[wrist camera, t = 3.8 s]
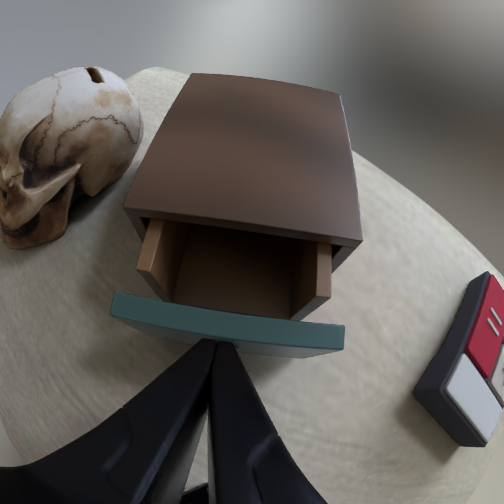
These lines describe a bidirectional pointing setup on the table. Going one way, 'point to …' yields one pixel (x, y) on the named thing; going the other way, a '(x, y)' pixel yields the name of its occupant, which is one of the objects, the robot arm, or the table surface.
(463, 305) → the calculator
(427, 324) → the table surface
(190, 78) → the cabinet
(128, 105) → the coin bank
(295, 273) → the drawer
